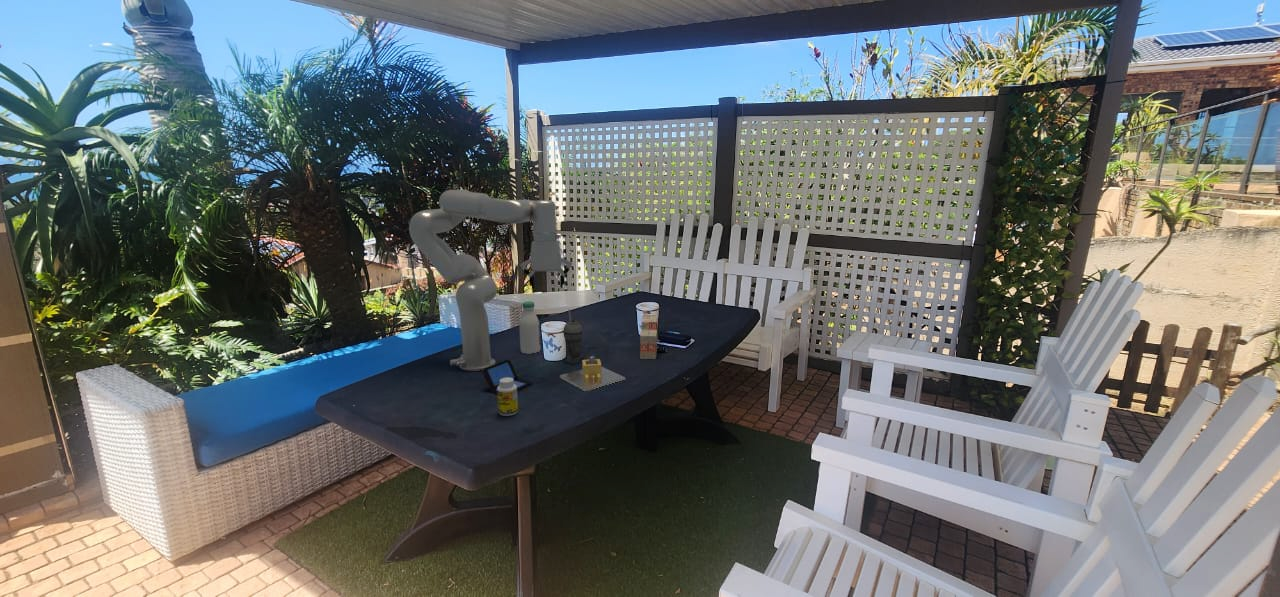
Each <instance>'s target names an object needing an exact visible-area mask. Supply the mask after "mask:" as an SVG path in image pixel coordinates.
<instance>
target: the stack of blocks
mask: <svg viewBox="0 0 1280 597" xmlns="http://www.w3.org/2000/svg"><path fill="white" fill-rule="evenodd" d="M641 317H642V318H641V331H640V340H639V341H640V343H639V358H640V360H656V359H657V353H658V351H657V350H658V345H657V341H658V342H659V337H658V334H659V332H658V329H659V328H658V327H659V326H658V324H659V323H658V322H659V321H658V319H659V316H658V314H642V316H641Z"/></svg>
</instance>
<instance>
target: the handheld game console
mask: <svg viewBox="0 0 1280 597" xmlns="http://www.w3.org/2000/svg"><path fill="white" fill-rule="evenodd" d="M481 371H482V375H483V377H484V379H485V380H486V383H487V385H488V387H489V392H490V393H491V394H496V395H497V387H498V386H499V385H500V379H502V378H507V377H509V378H513V379H514V384H515V385H516V386H517V393H518V392H520V391H522V390H524V389H526V388H529V387H531V386H533V381H531V380H526V379H522V378H519V376H518V373H517V372H516V370H515V368H514V366H513V364H512V362H511V360H510V359H505V360H503V361H500V362H498V363H495V365H492V366H490V367H487V368H484V369H483V370H481Z"/></svg>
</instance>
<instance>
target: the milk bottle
mask: <svg viewBox="0 0 1280 597" xmlns="http://www.w3.org/2000/svg"><path fill="white" fill-rule="evenodd" d="M521 307H522V314H521V317H520V319H519V342H520V344H519V345H520V353H522V354H524V353H525V355H533V354H532V353H534V354H537V352H538V353H540V352H541V335H540V331H541V330H540V322H539V318H538V316H537V314H536V312H535V302H534V301H529V300H528V301H523V302H522V303H521Z"/></svg>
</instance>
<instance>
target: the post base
mask: <svg viewBox="0 0 1280 597" xmlns="http://www.w3.org/2000/svg"><path fill="white" fill-rule="evenodd" d="M595 359H596V356H595V355H589V356H588V360H589V364H595ZM601 376H602V379H601V383H598V381H597V379H595V382H591V380H589V384H586V382H585V380H584V379H583V368H582V369H579V370H576V371H575V370H574V371H571V372H567V373H564V374H560V375H559V379H561V380H563V381H564V382H567V383H569V384H570V385H572V386H574V387H576V388H577V387H578V388H577V389H580V390H581V391H583V392H584V393H586V391H587V392H590V391H593V389H594V390H597V389H600V388H599V387H601V388H603V387H602V386H604V387H606V386H605V385H607V386H610V385H609V384H611V385H613V384H612V383H614V384H616V383H615V382H618V383H620V382H619V381H621V382H623V381H622V380H625V381H626V377H625V376H622V375H620V374H619V373H616V372H614V371H612V370H610V369H607V368H605V367H604V366H601ZM596 388H597V389H596Z"/></svg>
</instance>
